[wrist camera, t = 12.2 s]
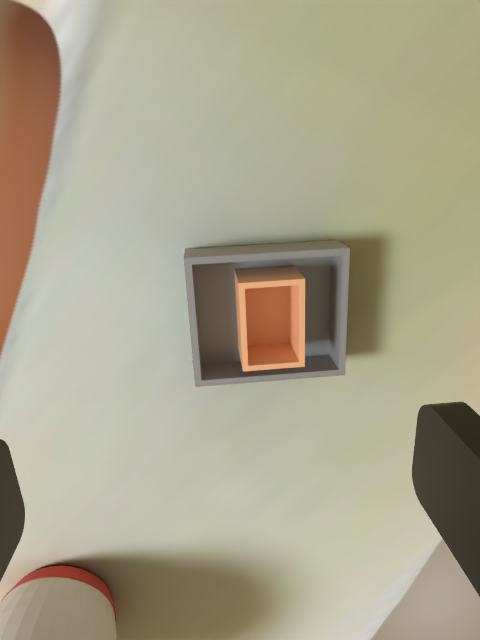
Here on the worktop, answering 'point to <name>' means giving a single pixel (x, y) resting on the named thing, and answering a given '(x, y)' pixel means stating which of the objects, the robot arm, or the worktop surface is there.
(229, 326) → the large crate
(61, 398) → the worktop surface
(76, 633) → the citrus juicer
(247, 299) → the small crate
